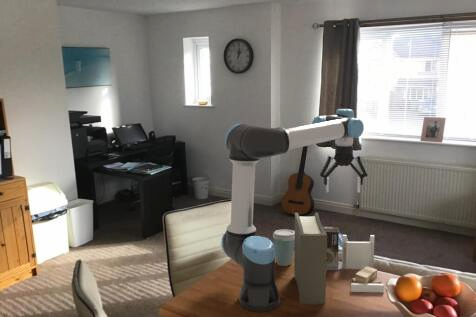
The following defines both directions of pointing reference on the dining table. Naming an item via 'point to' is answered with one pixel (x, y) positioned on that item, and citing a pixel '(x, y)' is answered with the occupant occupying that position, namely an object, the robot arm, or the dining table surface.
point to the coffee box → (332, 246)
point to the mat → (334, 268)
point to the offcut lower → (374, 281)
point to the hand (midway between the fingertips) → (342, 191)
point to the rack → (360, 262)
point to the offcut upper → (366, 275)
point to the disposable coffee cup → (284, 246)
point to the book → (310, 259)
